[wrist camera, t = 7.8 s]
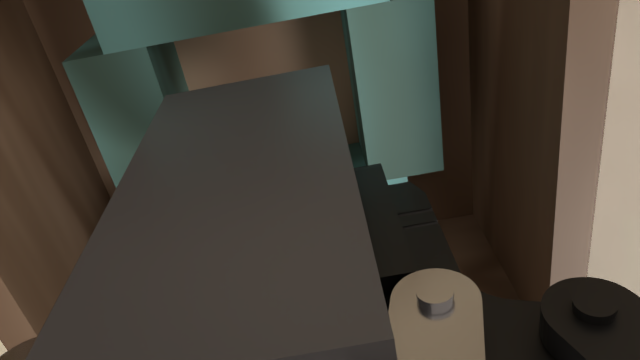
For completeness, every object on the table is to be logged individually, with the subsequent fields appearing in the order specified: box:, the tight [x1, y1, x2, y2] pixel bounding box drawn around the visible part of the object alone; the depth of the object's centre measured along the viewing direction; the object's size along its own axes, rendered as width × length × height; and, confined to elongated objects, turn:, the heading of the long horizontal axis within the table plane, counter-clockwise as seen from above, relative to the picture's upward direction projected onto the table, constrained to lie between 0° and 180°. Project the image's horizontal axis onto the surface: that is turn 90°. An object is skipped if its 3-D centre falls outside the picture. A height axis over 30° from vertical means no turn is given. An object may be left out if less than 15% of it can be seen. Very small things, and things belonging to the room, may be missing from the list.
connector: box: [26, 65, 397, 360], centre depth 10 cm, size 4×4×10 cm
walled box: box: [0, 0, 619, 350], centre depth 16 cm, size 16×16×8 cm
